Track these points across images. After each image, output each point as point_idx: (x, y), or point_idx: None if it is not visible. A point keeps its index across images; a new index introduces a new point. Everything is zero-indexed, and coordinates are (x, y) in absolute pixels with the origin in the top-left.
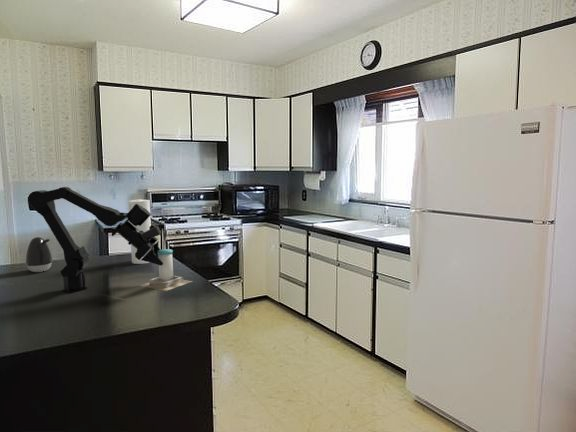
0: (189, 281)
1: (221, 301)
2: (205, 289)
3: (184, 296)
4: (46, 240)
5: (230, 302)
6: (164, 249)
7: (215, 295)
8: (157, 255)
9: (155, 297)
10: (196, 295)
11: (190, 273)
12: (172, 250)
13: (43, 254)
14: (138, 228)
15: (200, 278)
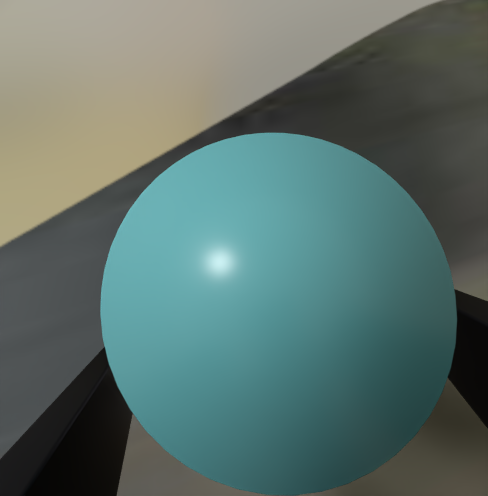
0: None
1: (449, 31)
2: (316, 108)
3: (424, 162)
4: None
5: (452, 7)
6: (139, 344)
7: (387, 60)
8: (101, 492)
9: (469, 284)
10: (401, 121)
11: (33, 242)
12: (252, 135)
13: None
14: None
15: (141, 168)
